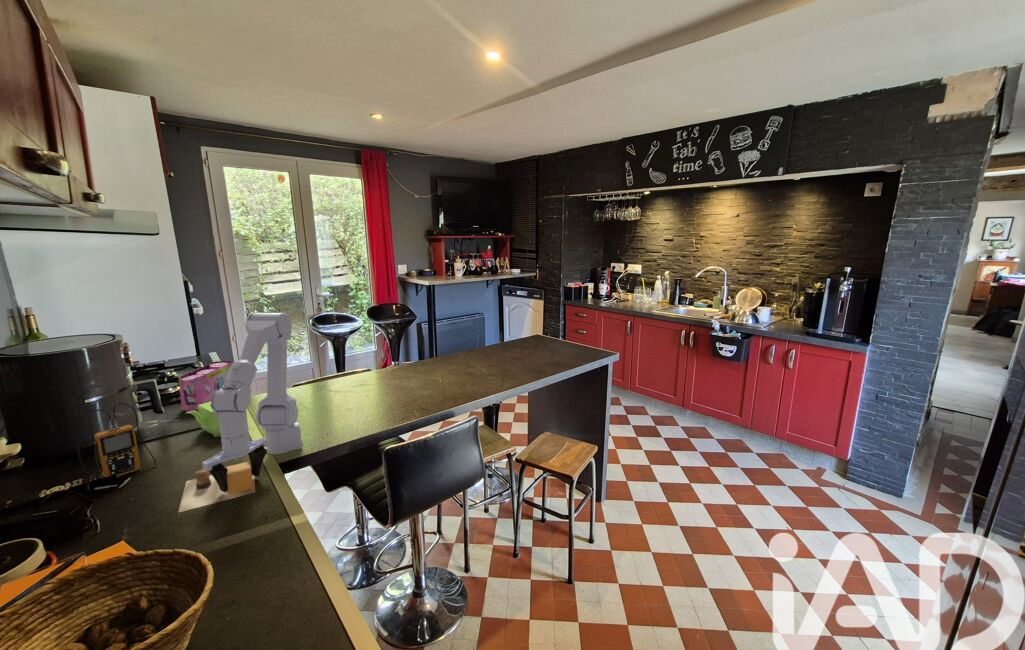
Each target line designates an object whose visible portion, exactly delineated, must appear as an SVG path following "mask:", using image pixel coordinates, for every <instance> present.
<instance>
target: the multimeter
mask: <svg viewBox="0 0 1025 650" xmlns="http://www.w3.org/2000/svg"><path fill="white" fill-rule="evenodd" d="M119 405H124V406H128V407H129V408H130V409H132V411H134V414H135V420H136V421H135V422H136V431H137V436H138V438H139V439H140V442H142V444H143V445H144V447H145V449H146V450H147V452H148V453H149V454H150V456H151V457H152V460H153V461H154V463H155V465H154V466H152V467H151V468H149V469H146V470H143V471H139V470H141V468H142V467H141V463H140V455H139V448H138V443H137V437H136V432H135V427H134V426H133V425H132V424H126V425H123V426H120V427H119V424H118V421H117V419H116V413H115V408H116V407H117V406H119ZM95 411H101V412H104V413H106V414H107V416H108V417H107V418H108V423H109V424H108V425H109V426H108V427H109V430H105V431H104V430H103V431H100V432H96V433H95V434H94V435H93V436H94V446H93V452H94V456H95V463H96V465H97V467H98V469H99V471H100V472H101V476H102V475H103V476H104V477H108V476H111V475H114V474H116V475H117V476H116V478H119V477H121V476H124V475H127V474H131V473H133V472H136V473H134V474H132V475H131V476H130V477H128V478H127V479H126V480H124V482H122V484H121V485H120V486H119V487H118V489H120V488H121V487H123V486H124V485H126V484H127V483H128V482H129V481H130V480H131V479H132V478H133V477H134V476H135V475H137V474H141V473H145V472H148V471H150V470H153V469H154V468H156V467H157V464H158V463H157V460H156V459H155V457H154V456H153V454H152V452H151V451H150V450H149V448H148V446H147V445H146V443H145V442H144V440H143V439H142V437H141V436H140V433H139V431H140V430H139V423H138V414H137V411H136V410H135V408H133V406H131V405H129V404H128V403H123V402H122V403H117V404H115V405H114V406H113V409H112V411H113V418H114V427H113V424H112V421H111V416H110V412H108V411H107V410H105V409H98V408H97V409H92V410H89V411H88V412H86V413H84V415H82V417H81V418H80V420H79V423H78V426H77V429H76V450H77V455H78V458H79V462H80V465H81V467H82V471H83V473H84V476H85V479H86V484H87V491H94V490H103V489H109V488H111V487H117V486H118V484H115V485H106V486H99V487H95V488H90V483H89V482H90V481H89V479H88V476H87V473H86V470H85V467H84V464H83V461H82V457H81V453H80V448H79V431H80V426H81V423H82V421H83V419H84V417H85V416H86V415H88V414H89V413H92V412H95ZM138 471H139V472H138Z"/></svg>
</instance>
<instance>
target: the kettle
mask: <svg viewBox="0 0 1025 650" xmlns="http://www.w3.org/2000/svg"><path fill="white" fill-rule="evenodd" d="M210 404H211V402H208V403H204V404H200V405H198V409H199V410H196V411H189V410H188V411H185V414H191V415H192V416H194V417H195V419H196V422H197V423H198V424H200V428H201V429H203V430H204V431H206V433H207V434H211V435H213V438H219V437H221V433H220V425H219V419H217V418H216V415H215V412H214V411H213V410H212V409H211V406H210Z"/></svg>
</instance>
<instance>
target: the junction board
mask: <svg viewBox="0 0 1025 650" xmlns="http://www.w3.org/2000/svg"><path fill="white" fill-rule="evenodd" d="M255 477H256V476H254V475H252V479H253V488H251V489H247V490H243V491H239V492H236V493H232V494H228V491H227V492H223V491H221V490H220V488H219V485H218V483H217V481H216V480H215V478H214V477H213V476H212V475H211V474H210V472H209V471H205V470H204V469H203V468H202V469H200V470H197V471H196V472H195V478H192V479H189V480H186V482H185V486H184V489H183V492H182V493H183V494H182V497H181V500H180V501H181V502H180V505H179V508H178V511H177V512H178V514H179V513H182V512H186V511H190V510H194V509H197V508H202V507H206V506H208V505H209V506H210V505H213V504H217V503H220V502H223V501H224V502H225V501H227V500H231V499H235V498H238V497H239V498H240V497H243V496H246V495H250V494H254V493H256V483H255V482H256V481H255V480H256V478H255Z"/></svg>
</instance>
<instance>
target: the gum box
mask: <svg viewBox="0 0 1025 650" xmlns="http://www.w3.org/2000/svg"><path fill="white" fill-rule="evenodd" d="M234 362H235V360H234V361H232V360H227V361H226V360H220V361H219V360H218V361H214V362H211V363H209V364H206V365H204V366H202V367H199V368H196V369H194V370H191V371H190V372H188V373H185V374H183V375H180V376H178V384H179V386H178V387H179V393H180V405H181V410H182V411H183V412H184V411H185V412H189V411H199V409H198V405H200V404H204V403H208V402H211V400H212V396H213V394H214V393H215V392H216V391H218V390H219V389H222V386H223V384H224V382H225V379H226V377H227V375H228V373H229V370H230V368H231V366H232V364H233V363H234Z"/></svg>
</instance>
